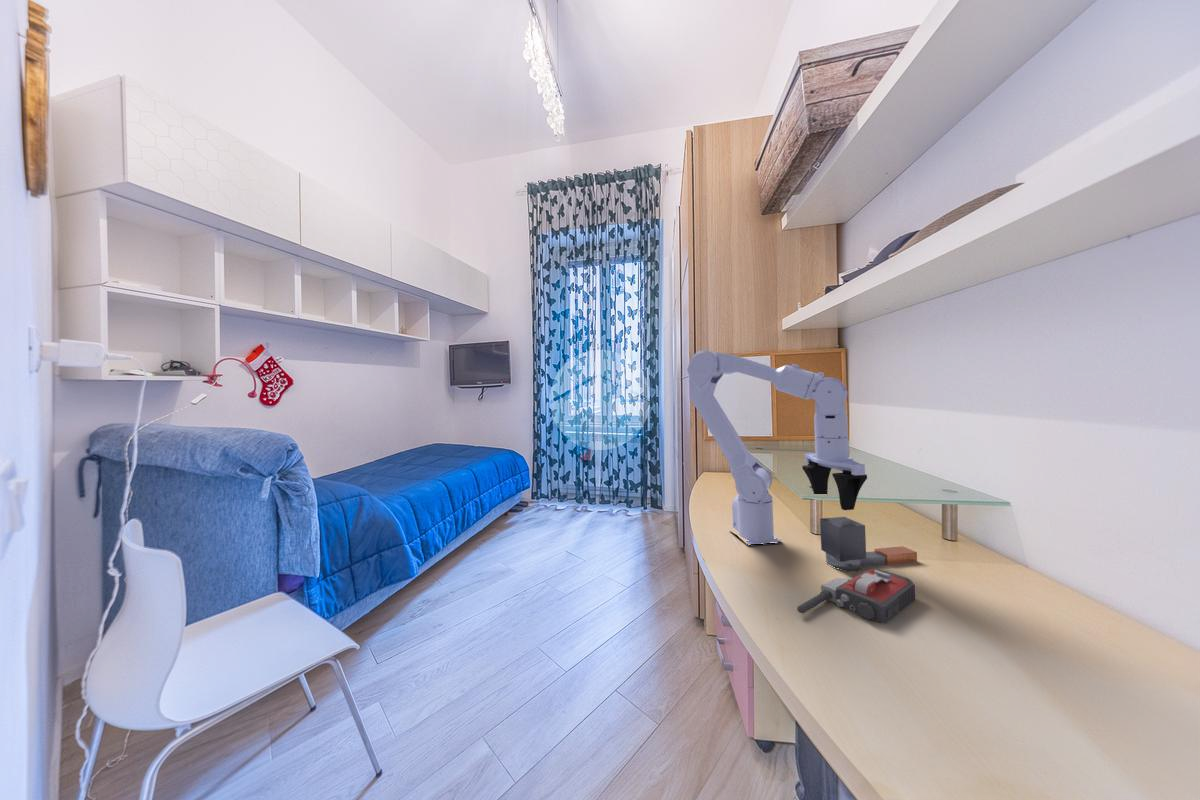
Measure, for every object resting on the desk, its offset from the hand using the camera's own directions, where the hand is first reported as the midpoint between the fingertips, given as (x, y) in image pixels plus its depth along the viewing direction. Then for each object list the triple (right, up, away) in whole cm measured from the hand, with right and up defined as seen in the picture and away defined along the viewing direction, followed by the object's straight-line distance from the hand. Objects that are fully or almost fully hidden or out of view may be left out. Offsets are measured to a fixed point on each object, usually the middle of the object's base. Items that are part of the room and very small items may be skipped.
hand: (833, 503), depth 76 cm
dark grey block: (-2, -8, -6) cm, 10 cm away
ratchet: (+3, -9, -6) cm, 11 cm away
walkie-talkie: (-8, -11, -19) cm, 24 cm away
